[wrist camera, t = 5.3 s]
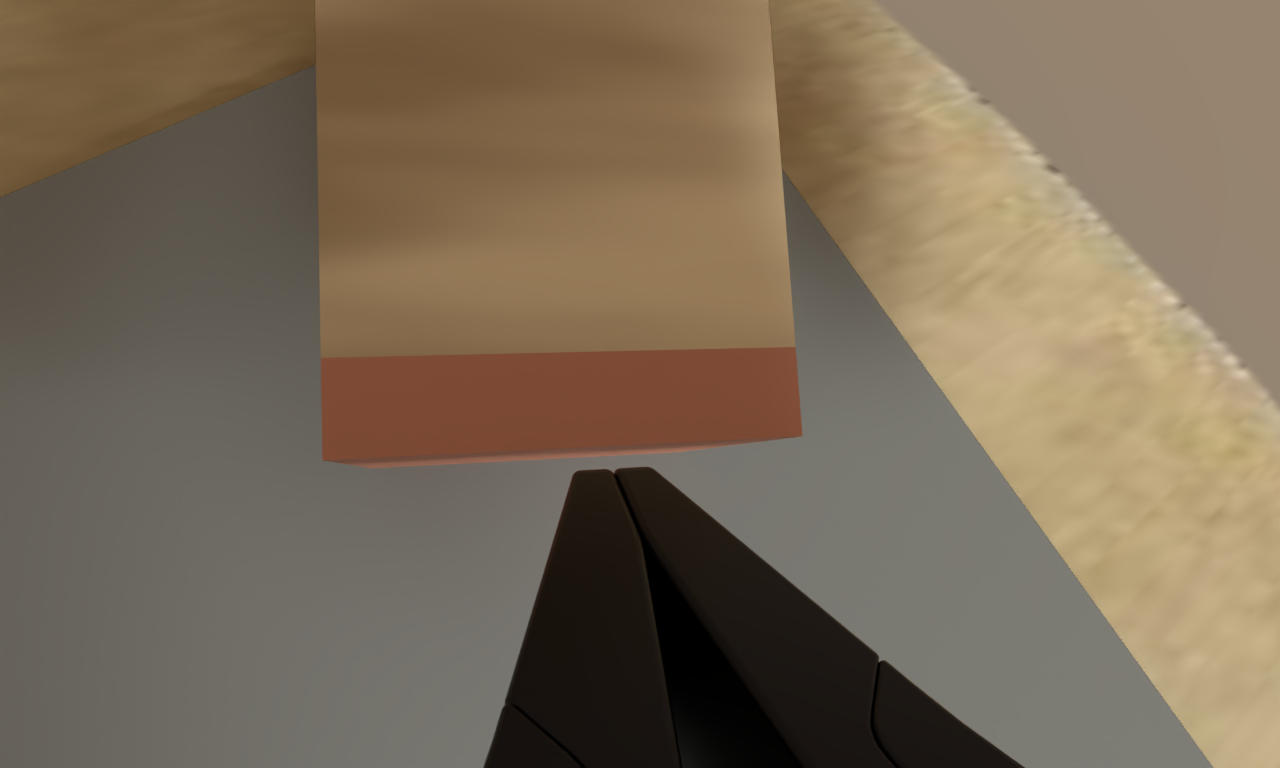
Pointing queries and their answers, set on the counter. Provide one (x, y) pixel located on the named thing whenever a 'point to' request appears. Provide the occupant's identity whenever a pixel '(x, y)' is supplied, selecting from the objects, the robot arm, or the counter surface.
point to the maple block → (550, 230)
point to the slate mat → (435, 501)
